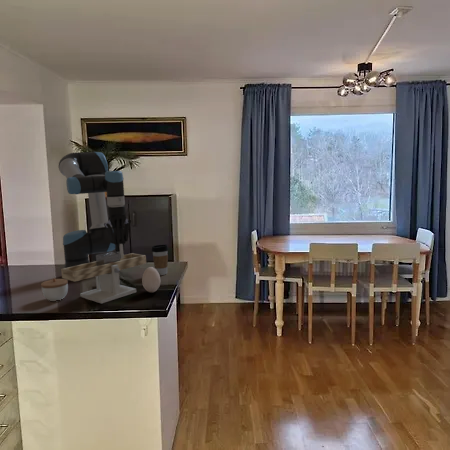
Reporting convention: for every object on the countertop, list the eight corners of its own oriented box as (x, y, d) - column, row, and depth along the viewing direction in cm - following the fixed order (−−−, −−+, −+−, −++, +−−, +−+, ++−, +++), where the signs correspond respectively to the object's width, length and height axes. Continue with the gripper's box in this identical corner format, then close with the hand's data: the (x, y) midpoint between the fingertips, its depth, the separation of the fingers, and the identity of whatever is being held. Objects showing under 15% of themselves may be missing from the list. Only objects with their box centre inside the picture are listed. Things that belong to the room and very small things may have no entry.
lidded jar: (47, 296, 183) (45, 275, 182) (72, 294, 184) (70, 274, 183) (39, 304, 173) (36, 282, 171) (65, 302, 174) (63, 281, 172)
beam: (74, 281, 164) (74, 271, 163) (62, 277, 170) (61, 268, 170) (146, 263, 191) (145, 255, 190) (132, 260, 197) (132, 252, 197)
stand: (101, 303, 170) (98, 270, 168) (80, 296, 181) (77, 265, 179) (136, 292, 184) (134, 261, 182) (114, 286, 194) (112, 257, 192)
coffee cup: (166, 276, 208) (164, 247, 206) (150, 275, 210) (148, 247, 208) (172, 271, 216) (170, 243, 214) (156, 271, 218) (154, 243, 216)
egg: (145, 296, 178) (143, 270, 176) (141, 291, 185) (139, 266, 183) (163, 293, 181) (161, 267, 179) (158, 288, 188) (156, 264, 187)
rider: (104, 268, 176) (103, 256, 176) (96, 266, 180) (95, 255, 179) (120, 264, 182) (119, 253, 182) (112, 262, 186) (111, 251, 185)
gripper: (108, 208, 175) (113, 262, 179) (133, 204, 185) (137, 256, 188) (98, 207, 180) (103, 260, 184) (123, 204, 190) (127, 254, 193)
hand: (120, 258), depth 186 cm, fingers closed
